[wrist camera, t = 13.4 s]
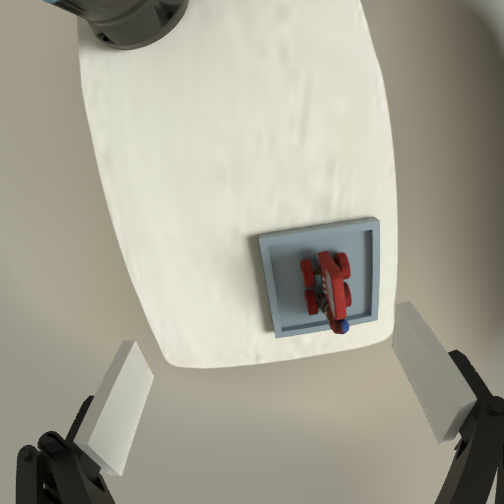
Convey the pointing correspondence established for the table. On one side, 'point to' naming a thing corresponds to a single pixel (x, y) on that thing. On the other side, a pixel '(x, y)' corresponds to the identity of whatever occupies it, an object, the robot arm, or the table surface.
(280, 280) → the tray
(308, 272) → the toy fire truck
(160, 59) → the table surface
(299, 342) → the table surface
